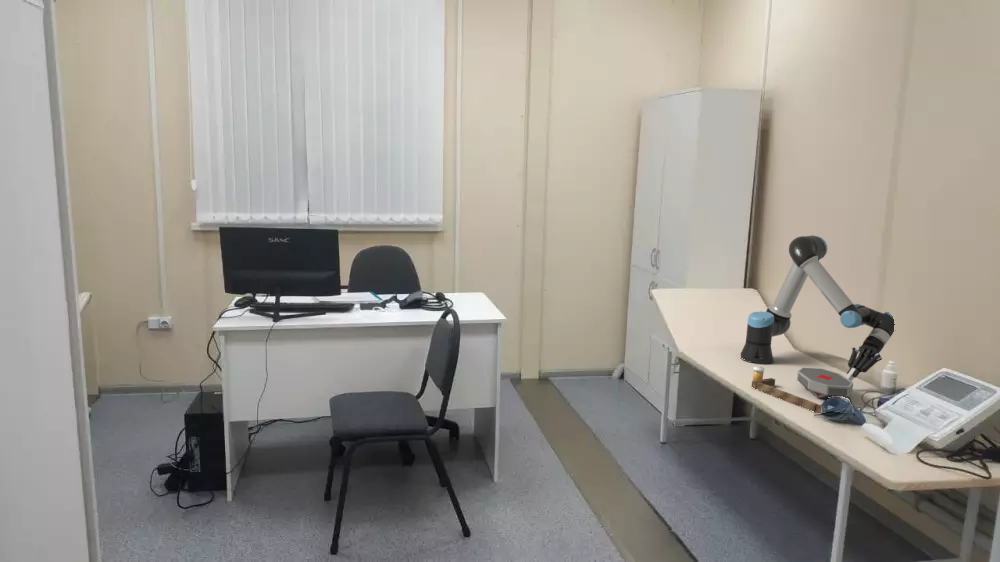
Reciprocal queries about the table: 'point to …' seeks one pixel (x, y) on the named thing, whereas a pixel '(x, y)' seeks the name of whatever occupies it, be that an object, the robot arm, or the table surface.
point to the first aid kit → (824, 382)
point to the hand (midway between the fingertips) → (846, 381)
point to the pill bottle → (758, 373)
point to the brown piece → (784, 394)
